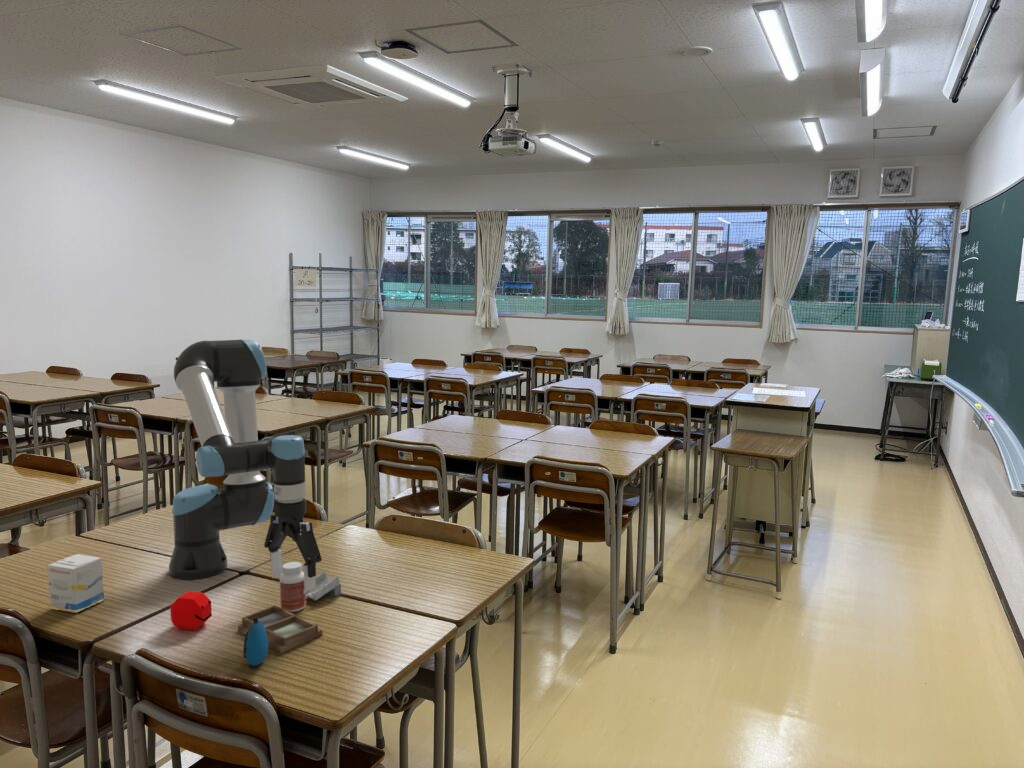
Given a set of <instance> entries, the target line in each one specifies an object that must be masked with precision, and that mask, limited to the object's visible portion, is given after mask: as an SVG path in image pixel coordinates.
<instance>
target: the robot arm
mask: <svg viewBox="0 0 1024 768" xmlns="http://www.w3.org/2000/svg"><path fill="white" fill-rule="evenodd" d="M266 376H267V361H266V357H265V354H264V351H263V348H262V347H261V345H260V344H259V342H257V341H255V340H254V339H253V340H252V339H242V338H240V339H227V340H226V339H225V340H221V339H220V340H201V341H196V342H194V343H192V344H190V345H189V346H186V348H185V349H184V350H183V351H182V352H181V353H180V354H179V355H178V357H177V359H176V361H175V364H174V368H173V379H174V382H175V385H176V387H177V389H178V390H179V391H181V392H182V393H183V397H184V399H185V402H186V405H187V408H188V412H189V413H190V416H191V419H192V422H193V426H194V428H195V432H196V434H197V437H198V438H197V439H198V441H199V443H200V447H199V448H198V449H197V450H196V455H195V458H196V459H195V462H196V467H197V471H198V475H200V476H201V477H203V478H214V477H217V478H218V477H225V476H227V477H226V478H225V479H224V480H223V481H222V483H223V488H221V489H219V488H218V487H217V485H214V484H202V485H201V484H200V485H195V486H191V487H188V488H186V489H183V490H180V491H179V492H177V493H176V494H175V496H174V497H173V499H172V511H171V513H172V515H173V516H172V521H173V536H174V537H173V539H174V540H173V541H174V548H173V550H172V553H171V554H172V555H171V557H170V561H169V564H168V573H169V576H170V575H171V576H172V578H173V577H174V579H177V578H178V579H179V580H197V579H198V580H199V579H203V578H209V577H213V576H215V575H218V574H220V573H222V572H224V571H225V570H226V569H227V568H228V557H227V556H226V553H225V550H224V548H223V546H222V543H221V541H220V531H225V530H230V529H235V528H236V529H237V528H242V527H245V526H246V527H247V526H256V525H257V524H261V523H265V522H267V521H268V520H269V519H270V520H269V521H270V524H269V527H268V529H267V534H266V536H265V541H264V544H263V546H264V548H265V549H268V552H269V554H270V568H271V569H270V570H271V578H272V579H276V578H278V577H280V576H281V575H282V574H283V571H282V566H283V552H282V551H283V550H282V545H283V543H284V541H285V539H286V538H287V537H289V538H291V539H292V541H293V542H295V543H296V546H297V548H298V550H299V552H300V554H301V556H302V558H303V560H304V563H303V572H304V590H305V591H308V590H311V589H313V588H316V582H315V577H316V576H317V567H316V566H317V565H316V564H317V563H319V562H322V559H323V558H322V555H321V553H320V552H321V551H320V549H319V546H318V543H317V540H316V536H315V534H314V531H313V530H314V528H313V523H312V521H307V522H305V521H304V516H305V514H306V513H307V499H306V498H305V497H306V496H307V485H306V484H307V483H306V461H305V460H306V459H305V453H306V448H305V443H304V438H303V437H301V436H300V435H294V434H290V435H289V434H288V435H286V434H284V435H279V436H276V437H275V436H266V437H263V438H261V439H259V437H258V436H259V435H258V433H259V432H258V421H257V405H256V403H257V402H256V391H257V390H258V389H259V387H261V380H263V379H265V378H266ZM215 382H216V385H217V386H216V387H217V389H218V390H220V392H222V394H223V404H224V407H223V408H224V411H223V409H222V406H221V403H220V400H219V397H218V395H217V392H216V390H215V386H214V385H213V383H215ZM267 470H268V471H269V470H272V479H273V480H272V481H273V482H272V483H270V482H268V481H267V479H266V476H264V475H263V474H262V473H261V471H267ZM272 484H273V485H272ZM273 511H274V513H273ZM171 576H170V577H171Z"/></svg>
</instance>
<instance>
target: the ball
mask: <svg viewBox="0 0 1024 768" xmlns="http://www.w3.org/2000/svg"><path fill="white" fill-rule="evenodd" d="M169 609H170V622H171V623H172V625H173V626H174V627H176V628H177V629H178V630H186V631H197V630H198V629H199V628H200V627H201V626H203V625H204V624H206V622H207V621H208V620H209V619H210V618H211V617H212V616H213V614H212V611H213V610H212V600H210V598H209V596H207V595H206V594H205V593H204V592H200V591H186V592H184V593H183V594H181V595H180V596H178V597H177V598H176V599H175V600H174V601H173V602H172V603H171V604H170V605H169Z"/></svg>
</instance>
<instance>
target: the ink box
mask: <svg viewBox="0 0 1024 768" xmlns="http://www.w3.org/2000/svg"><path fill="white" fill-rule="evenodd" d="M102 562H103V561H102V558H101V557H96V556H91V555H87V554H86V555H85V554H81V553H76V554H73V555H70V556H68V557H65V558H62V559H59V560H57V561H55V562H52V563H50V564H47V577H48V586H49V587H48V588H49V600H50V606H51V605H52V606H55V607H60V608H65V609H71V610H78V609H81V608H84V607H87V606H89V605H91V604H93V603H95V602H97V601H99V600H101V599H103V598H104V599H105V596H104V595H105V593H104V579H103V563H102Z"/></svg>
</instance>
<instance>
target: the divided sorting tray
mask: <svg viewBox="0 0 1024 768" xmlns="http://www.w3.org/2000/svg"><path fill="white" fill-rule="evenodd" d="M255 618H257V619H258V621H261V622H262V624H263V625H264V627H265V630H266V633H267V637H268V648H270V649H272V650H274V651H276V652H278V653H279V654H283V653H285V652H287V651H290V650H292V649H294V648H296V647H298V646H300V645H303V644H305V643H308V642H310V641H311V640H314V639H316V638H319V637H320V636H322V635H323V629H321V628H319V625H318V624H316V623H314V622H311V621H310V620H307V619H305V618H303V617H301V616H299V615H296V614H294V613H293V612H288V611H286V610H284V609H281V607H279V606H277V605H272V606H270V607H267V608H264V609H261V610H259V611H257V612H254V613H252V614H249V615H246V616H244V617H242V619H241V622H242V624H238V625H237V631H238V632H240V633H242V634H243V635H245V636H246V634H247V631H248V630H249V628H250V626H251V625H252V624H253V623H254V619H255Z"/></svg>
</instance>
